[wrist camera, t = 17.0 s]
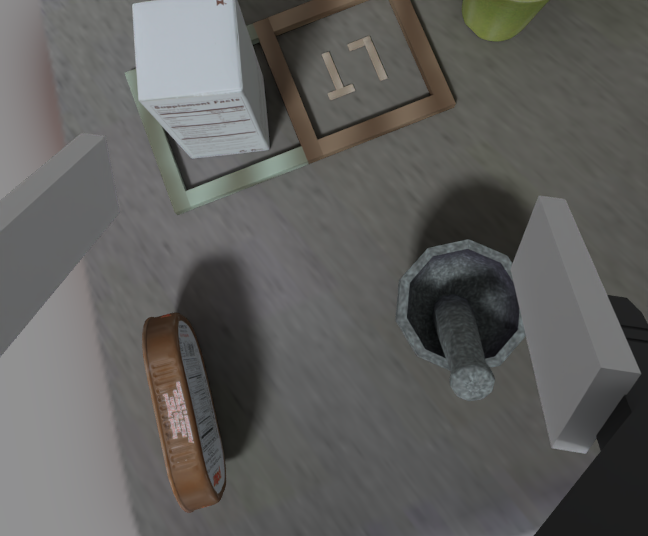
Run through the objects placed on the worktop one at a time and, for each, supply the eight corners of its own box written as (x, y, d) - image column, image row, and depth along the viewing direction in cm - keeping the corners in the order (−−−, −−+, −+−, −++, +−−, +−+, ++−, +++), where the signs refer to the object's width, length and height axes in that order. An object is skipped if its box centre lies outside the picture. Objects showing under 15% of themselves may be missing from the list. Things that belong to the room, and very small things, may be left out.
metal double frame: (394, -27, 49) (395, -32, 48) (454, 107, 47) (455, 103, 46) (128, 77, 49) (124, 72, 48) (177, 215, 47) (174, 213, 46)
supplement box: (185, 84, 49) (129, -2, 36) (265, 75, 48) (237, -14, 36) (189, 161, 48) (134, 101, 35) (271, 153, 47) (244, 89, 35)
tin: (164, 319, 46) (125, 317, 38) (199, 310, 46) (167, 305, 38) (203, 494, 44) (170, 532, 36) (239, 484, 44) (215, 520, 36)
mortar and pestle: (396, 247, 46) (413, 218, 34) (504, 258, 45) (561, 232, 34) (384, 378, 45) (398, 395, 33) (495, 390, 44) (551, 412, 32)
